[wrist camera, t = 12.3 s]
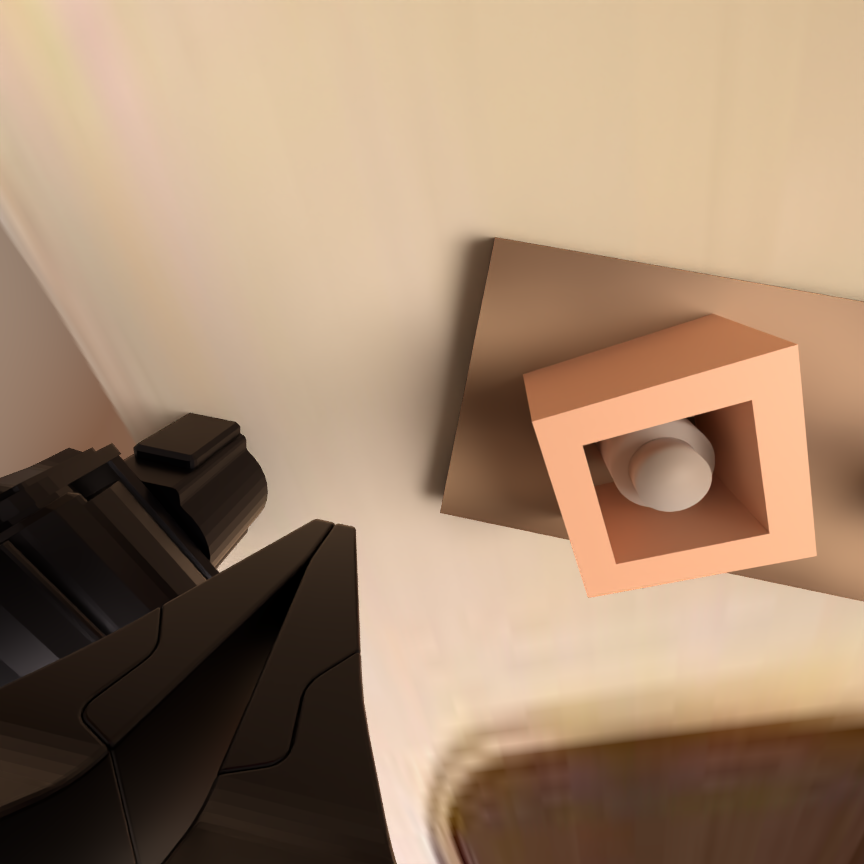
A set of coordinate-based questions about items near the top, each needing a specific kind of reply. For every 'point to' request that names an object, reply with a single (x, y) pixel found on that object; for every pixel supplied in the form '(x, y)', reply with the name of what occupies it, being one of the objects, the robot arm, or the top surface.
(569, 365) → the collar
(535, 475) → the collar board
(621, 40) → the top surface
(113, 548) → the robot arm
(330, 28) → the top surface
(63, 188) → the top surface
